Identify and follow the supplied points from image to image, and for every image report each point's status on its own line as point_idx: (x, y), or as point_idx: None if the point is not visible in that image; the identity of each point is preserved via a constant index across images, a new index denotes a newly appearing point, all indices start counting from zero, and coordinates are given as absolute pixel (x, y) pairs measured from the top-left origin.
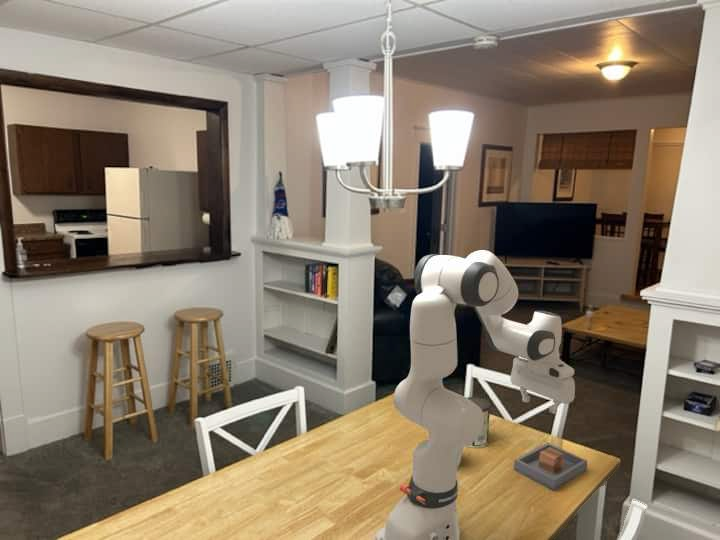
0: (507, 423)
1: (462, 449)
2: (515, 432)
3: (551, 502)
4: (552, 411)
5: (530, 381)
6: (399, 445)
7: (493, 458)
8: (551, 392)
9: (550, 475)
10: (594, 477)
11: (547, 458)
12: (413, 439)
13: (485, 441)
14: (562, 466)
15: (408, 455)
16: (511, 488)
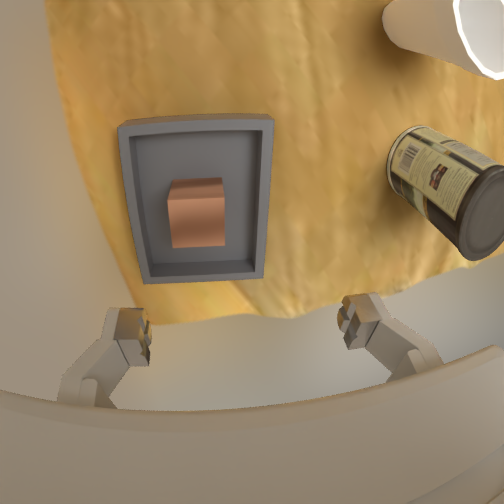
0: (385, 286)
1: (408, 28)
2: (358, 271)
3: (99, 74)
4: (112, 316)
5: (393, 478)
6: None
7: (342, 122)
8: (87, 471)
9: (171, 166)
10: (120, 257)
11: (193, 194)
12: None
13: (395, 167)
14: None
15: None
16: (210, 29)
